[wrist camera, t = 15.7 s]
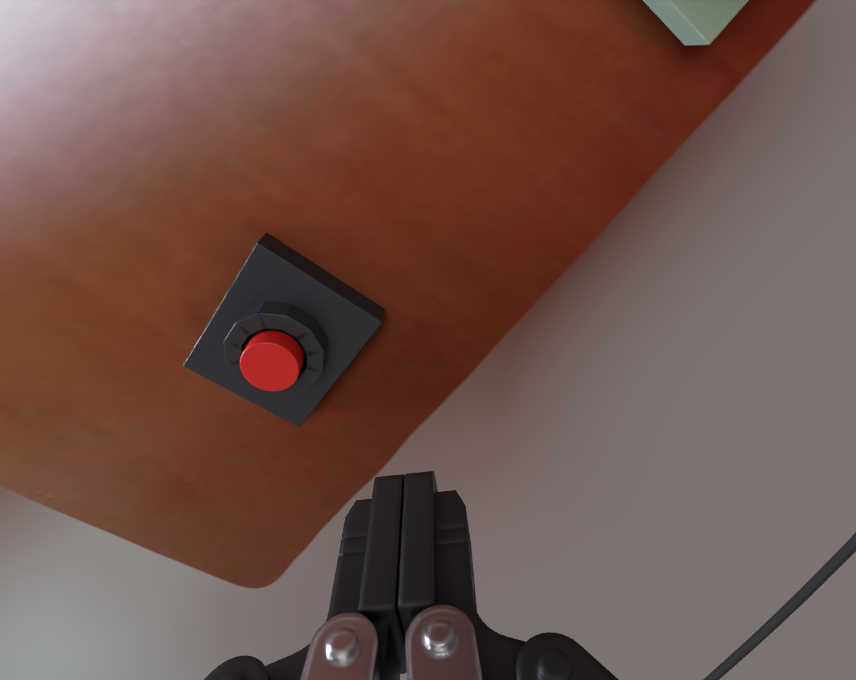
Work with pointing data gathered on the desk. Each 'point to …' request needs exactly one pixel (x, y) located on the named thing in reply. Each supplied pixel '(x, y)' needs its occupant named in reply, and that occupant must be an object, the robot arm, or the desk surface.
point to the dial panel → (696, 17)
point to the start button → (272, 361)
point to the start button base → (286, 327)
